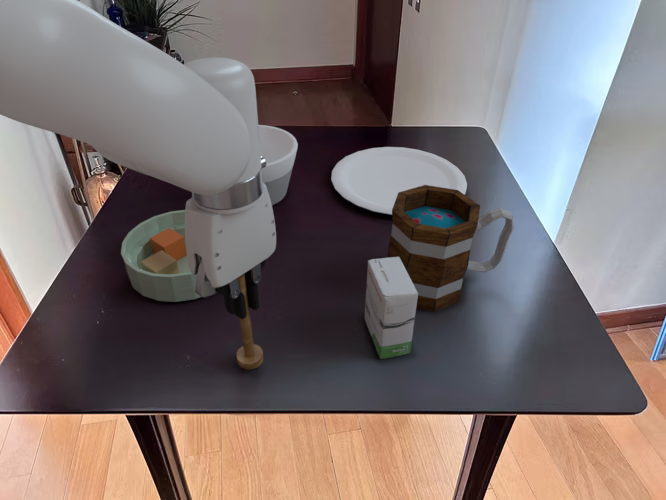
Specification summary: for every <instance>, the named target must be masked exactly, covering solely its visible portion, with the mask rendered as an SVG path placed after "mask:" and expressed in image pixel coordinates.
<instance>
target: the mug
mask: <svg viewBox="0 0 666 500" xmlns="http://www.w3.org/2000/svg"><path fill="white" fill-rule="evenodd" d="M480 209H481V205H480V204H478V203H477V202H476V201H474V200H472V199H471V198H469V197H468V196H467V195H466V194H465V195H464V194H463V193H461V192H460V191H458V190H454V189H448V188H442V187H436V186H429V185H423V186H419V187H416V188H413V189H409V190H406V191H402V192H399V193H398V195H397V198H396V200H395V203H394V206H393V209H392V215H391V216H392V217H391V218H392V219H391V220H392V225H391V233H390V240H389V244H388V249H387V258H388V257H399V258H400V259H401V261H402V263H403V265H404V267H405V269H406V271H407V273H408V275H409V277H410V279H411V281H412V283H413V285H414V287H415V289H416V290H417V292H418V298H417V306H416V309H418V310H419V309H420V310H424V311H429V312H437V311H439V310H441V309H444V308H447V307H449V306H452V305H455V304H456V303H459V302H460V301H461V296H462V290H463V289H462V288H463V282H464V277H465V275H466V272H467V271H473V272H480V273H487V272H489V271H493V270H495V269H496V268H497V267H498V265H500V263H501V262H502V261H503V258H504V255H505V253H506V250H507V247H508V243H509V240H510V238H511V236H512V234H513V231H514V228H515V225H514V217H513V213H512V212H510V211H508V210H506V209H503V208H501V207H498V208H495V209H491V210H489V211H487V212H486V213H485V214H484V215H482V216H481V217H480ZM501 218H503V219H505V220H504V221H505V222H504V225H503V228H502V230H501V232H500V235H499V238H498V240H497V244H496V247H495V251H494V254H493V255H492V257H491V258H489V260H487V261H484V262H479V261H475V260H470V254H471V248H472V247H471V246H472V243H473V239H474V236H475V233H476V231H478V230H482V229H485V228H486V227H488V226H489V225H490V224H491V223H493V222H494V221H496V220H499V219H501Z"/></svg>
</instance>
